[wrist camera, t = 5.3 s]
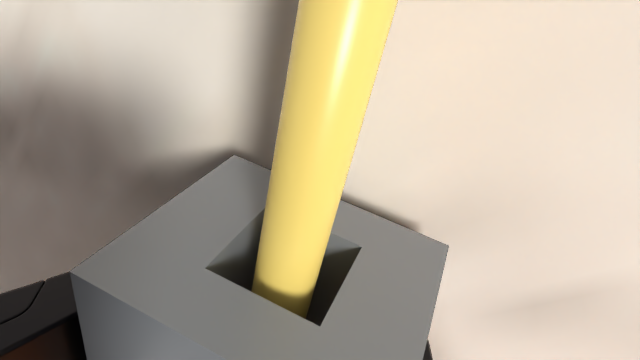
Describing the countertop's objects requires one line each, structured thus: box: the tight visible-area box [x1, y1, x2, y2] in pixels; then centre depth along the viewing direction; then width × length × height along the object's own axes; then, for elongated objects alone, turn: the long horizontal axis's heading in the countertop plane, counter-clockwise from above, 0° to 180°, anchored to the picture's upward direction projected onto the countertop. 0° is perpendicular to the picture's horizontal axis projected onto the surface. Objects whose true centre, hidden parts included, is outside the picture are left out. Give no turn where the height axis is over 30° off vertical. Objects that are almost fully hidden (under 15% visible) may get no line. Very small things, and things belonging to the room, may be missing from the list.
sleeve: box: [69, 155, 449, 360], centre depth 8 cm, size 5×5×4 cm
